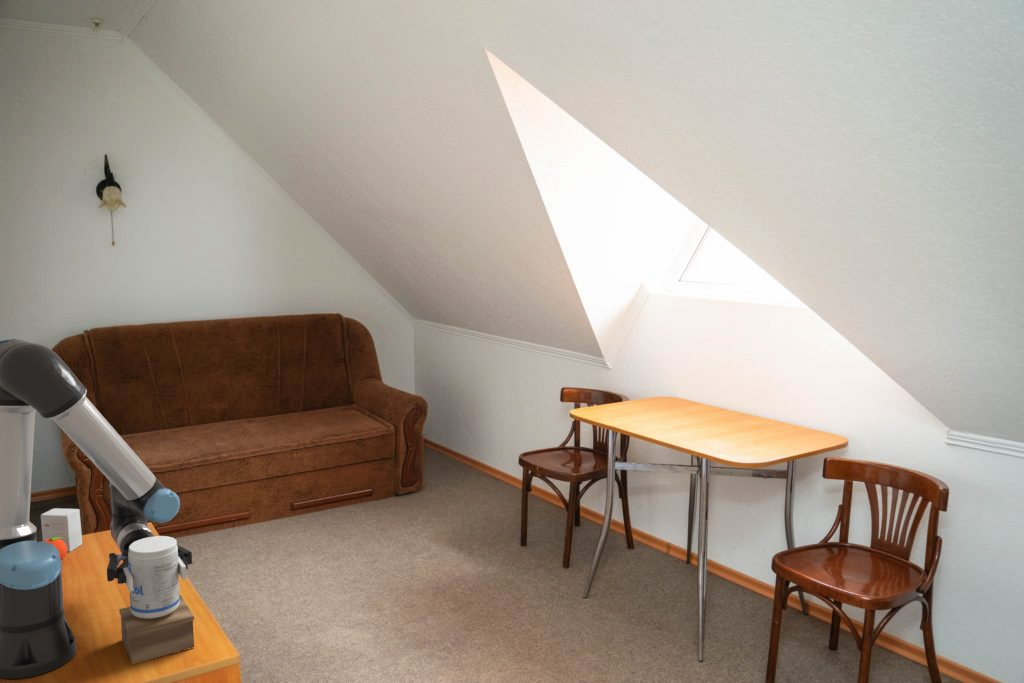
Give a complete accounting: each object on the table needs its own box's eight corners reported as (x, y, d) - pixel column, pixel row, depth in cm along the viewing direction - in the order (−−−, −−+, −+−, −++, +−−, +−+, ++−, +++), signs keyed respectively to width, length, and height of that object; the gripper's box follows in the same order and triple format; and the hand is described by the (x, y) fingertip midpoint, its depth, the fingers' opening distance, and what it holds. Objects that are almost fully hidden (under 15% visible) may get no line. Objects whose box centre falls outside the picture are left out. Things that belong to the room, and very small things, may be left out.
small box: (82, 544, 224) (80, 508, 222) (70, 552, 218) (67, 515, 217) (56, 543, 224) (53, 507, 223) (42, 551, 219) (40, 514, 218)
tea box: (195, 647, 168) (193, 616, 167) (131, 665, 160) (129, 632, 160) (181, 624, 178) (180, 594, 177) (121, 640, 171) (119, 609, 170)
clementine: (62, 555, 216) (61, 530, 215) (77, 560, 212) (75, 535, 211) (32, 565, 209) (30, 539, 208) (46, 571, 206) (45, 545, 205)
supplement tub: (120, 614, 166) (116, 546, 164) (159, 596, 174) (156, 532, 173) (152, 624, 162) (148, 555, 160) (190, 605, 170) (187, 540, 168)
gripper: (189, 549, 188) (214, 583, 170) (84, 571, 176) (99, 610, 158) (188, 519, 187) (213, 549, 169) (82, 539, 175) (97, 574, 157)
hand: (158, 578), depth 163 cm, fingers closed on supplement tub, 9 cm apart
